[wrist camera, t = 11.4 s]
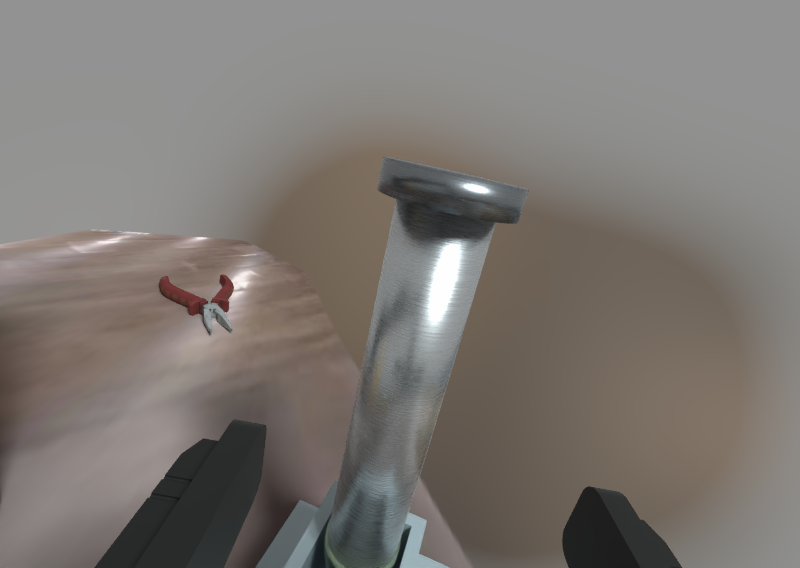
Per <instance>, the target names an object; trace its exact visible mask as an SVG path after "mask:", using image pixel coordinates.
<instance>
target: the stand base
mask: <svg viewBox="0 0 800 568" xmlns="http://www.w3.org/2000/svg"><path fill="white" fill-rule="evenodd" d="M337 484H338V482H337V481H334V483H333V485H332V487H331V488H330V490H329V492H328V493H327V495H326V497H325V499H324V500H323V502H322V504H321V505H320V507H319V508H317V507H315V506H313V505H311V504H309V503H306V502H304V501H302V500H300V501H299V502H298V504H297V505H296V507H295V508H294V510H293V511H292V513H291V514H290V516H289V517H288V519H287V520H286V522H285V523H284V525H283V526H282V528H281V529H280V531H279V532H278V534H277V535H276V537H275V539H274V540H273V542H272V543H271V545H270V546H269V548H268V549H267V551H266V552H265V554H264V555H263V557H262V558H261V560H260V561H259V563H258V564H257V566H256V567H255V568H327V567H326V564H325V559H324V539H325V534H326V529H327V525H328V522H329V520H330V518H331V513H332V509H333V504H334V499H335V494H336V489H337ZM426 522H427V520H425V519H422V518H420V517H418V516H415V515H413V514H411V513H408V516H407V520H406V523H405V526H404V530H403V533H402V536H401V542H400V549H399V553H398V556H397V559H396V562H395V565H394V567H393V568H449V567H447V566H445V565H443V564H440V563H438V562H436V561H434V560H432V559H429V558H427V557H425V556H423V555H421V554H419V550H420V546H421V542H422V538H423V534H424V530H425V526H426Z"/></svg>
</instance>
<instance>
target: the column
mask: <svg viewBox="0 0 800 568" xmlns="http://www.w3.org/2000/svg"><path fill="white" fill-rule="evenodd" d="M378 191H380V192H382V193H383V194H386V195H388V196H390V197H393V198H396V203H395V208H394V213H393V218H392V223H391V227H390V232H389V238H388V242H387V247H386V252H385V257H384V261H383V267H382V271H381V276H380V281H379V286H378V290H377V295H376V301H375V305H374V310H373V315H372V320H371V324H370V329H369V334H368V339H367V344H366V349H365V354H364V358H363V363H362V368H361V373H360V378H359V383H358V387H357V392H356V397H355V402H354V407H353V412H352V416H351V421H350V426H349V431H348V436H347V441H346V446H345V450H344V455H343V460H342V465H341V470H340V475H339V479H338V484H337V489H336V494H335V499H334V504H333V509H332V513H331V518H330V520H329V522H328V525H327V529H326V534H325V539H324V559H325V564H326V567H327V568H393V567H394V565H395V562H396V559H397V556H398V553H399V549H400V542H401V536H402V533H403V530H404V526H405V523H406V520H407V516H408V513H409V510H410V506H411V503H412V500H413V496H414V493H415V490H416V486H417V483H418V480H419V476H420V473H421V470H422V466H423V463H424V460H425V457H426V453H427V450H428V446H429V443H430V440H431V436H432V433H433V429H434V427H435V423H436V420H437V417H438V413H439V410H440V407H441V403H442V400H443V397H444V393H445V390H446V387H447V384H448V380H449V377H450V374H451V370H452V367H453V364H454V360H455V357H456V354H457V350H458V347H459V344H460V340H461V337H462V333H463V330H464V327H465V324H466V320H467V317H468V314H469V310H470V307H471V304H472V301H473V297H474V294H475V290H476V287H477V284H478V281H479V277H480V274H481V271H482V267H483V264H484V261H485V257H486V254H487V251H488V247H489V244H490V241H491V237H492V234H493V231H494V228H495V224H496V222H498V223H511V224H514V223H518V222H519V220H520V216H521V213H522V210H523V207H524V204H525V201H526V198H527V195H528V192H529V190H528V189H525V188H522V187H518V186H515V185H511V184H507V183H503V182H499V181H495V180H491V179H486V178H482V177H478V176H474V175H470V174H465V173H461V172H456V171H452V170H448V169H443V168H439V167H434V166H430V165H425V164H420V163H416V162H411V161H406V160H401V159H396V158H391V157H383V162H382V168H381V174H380V178H379V184H378Z"/></svg>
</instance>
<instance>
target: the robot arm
mask: <svg viewBox="0 0 800 568" xmlns="http://www.w3.org/2000/svg"><path fill="white" fill-rule="evenodd" d="M265 438H266V425H262V424H257V423H251V422H246V421H240V420H233V421H232V422H231V423H230V425H229V426H228V428H227V429H226V431H225V432H224V434H223V435H222V437H221V438H220V440H219V441H214V440H209V439H202V440H201V441H199V442H198V443H196V444H195V445H193V446H192V447H191V448H189V449H188V450H186V451H185V452H183V453H182V454H181V455H180V456H179V458H178V459H177V460H176V461H175V463H174V464H173V465H172V467H171V468H170V469H169V471H168V472H167V473H166V475H165V477H164V479H162V480H161V481H160V482H159V484H158V485H157V486H156V488H155V489H154V490H153V492H152V493H151V496H150V498H147V499H146V501H145V502H144V503H143V505H142V506H141V507H140V509H139V510H138V511H137V513H136V514H135V515H134V517H133V518H132V519H131V520H130V522H129V523H128V524H127V526H126V527H125V528H124V530H123V531H122V532H121V534H120V535H119V536H118V538H117V539H116V540H115V541H114V543H113V544H112V545H111V547H110V548H109V549H108V551H107V552H106V553H105V555H104V556H103V557H102V559H101V560H100V561H99V562H98V564H97V565H96V566H95V568H223V567H224V565H225V563H226V561H227V559H228V556H229V554H230V552H231V550H232V547H233V545H234V543H235V541H236V539H237V536H238V534H239V532H240V530H241V527H242V525H243V523H244V521H245V519H246V516H247V514H248V512H249V510H250V507H251V505H252V503H253V501H254V498H255V495H256V493H257V490H258V486H259V483H260V479H261V473H262V465H263V456H264V447H265ZM562 541H563V551H564V556H565V559H566V561H567V564H568V567H569V568H682V567H681V565H680V564H679V562H678V561H677V559H676V558H675V556H674V555H673V553H672V552H671V550H670V549H669V547H668V545H667V544H666V543H665V542H664V541H663V540H662V539H661V537H660V536H658V535H657V533H655V531H654V530H652V528H651V527H650V526H649V525H648V524H647V523H646V522H645V521H644V520H640V519H639V517H638V516H637V514H636V512H635V511H634V509H633V508H632V506H631V504H630V503H629V501H628V500H627V498H626V497H625V496H624V495H623V494H621V493H620V492H616V491H611V490H606V489H600V488H595V487H586V488H585V489H584V490H583V492H582V494H581V496H580V498H579V500H578V502H577V504H576V506H575V508H574V510H573V512H572V514H571V516H570V518H569V520H568V522H567V524H566V526H565V528H564V531H563V540H562Z"/></svg>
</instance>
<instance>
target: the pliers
mask: <svg viewBox="0 0 800 568" xmlns="http://www.w3.org/2000/svg"><path fill="white" fill-rule="evenodd" d="M220 283H221V285H222V286H223V288H222V289H221V290H220V291H219V292H218V293H217V295H216V296H215V297H214V298H213V299H212V301H211V303H209V304H208V301H207V300H206V299H204V298H200V297H198V296H195V295H193V294H191V293H189V292H186V291H184V290H182V289H180V288H177V287H175V286H174V285H172V284H171V283H170V282H169V278H168V276H164V277H162V278H161V279H160V282H159V284H160V289H161V293H162V294H163V295H164V296H165V297H166V298H168V299H170V300H172V301H174V302H176V303H178V304H180V305H183V306H185V307H187V308H189V315H192V316H193V315H195V314H198V313H199V314H204V324H205V325H206V327H207V329H208V331H209V332H210V334H211V333H212V331H211V318H212V317H213V318H217V322H219V323H220V324H221V325H222V326H224V327H225V328H227V329H228V330H230V331H232V327H231V325H230V323H229V321H228V318H227V316H226V314H225V312H228V310H229V301H228V299H229V297H230V296H231V295H232V293H233V289H234V286H233V283H232V282H231V280H230V279H229V278H228V277H227V276H226V275H221V276H220Z"/></svg>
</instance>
